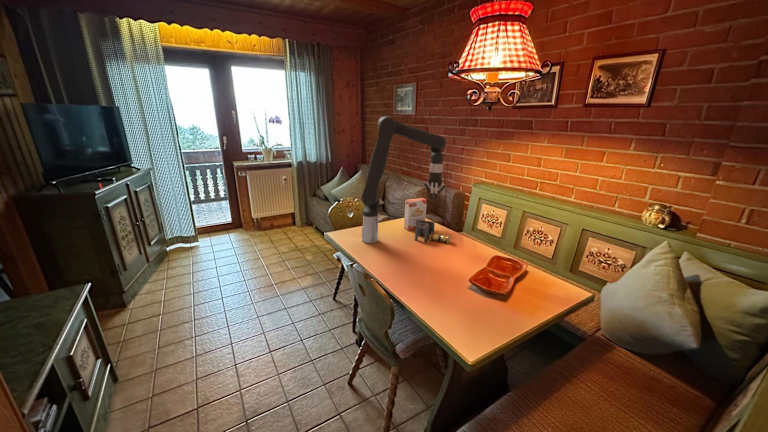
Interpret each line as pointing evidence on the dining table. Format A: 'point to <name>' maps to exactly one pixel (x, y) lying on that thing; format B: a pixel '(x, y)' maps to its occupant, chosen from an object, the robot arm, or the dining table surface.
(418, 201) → the cracker box
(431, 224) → the dark grey legged block
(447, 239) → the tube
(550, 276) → the dining table surface
